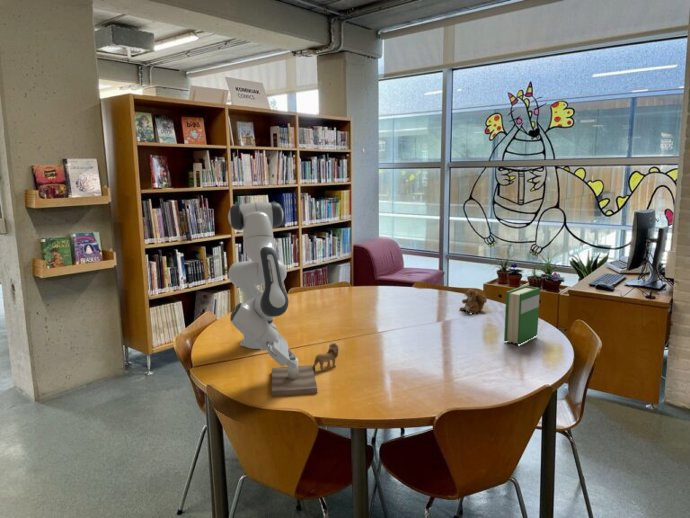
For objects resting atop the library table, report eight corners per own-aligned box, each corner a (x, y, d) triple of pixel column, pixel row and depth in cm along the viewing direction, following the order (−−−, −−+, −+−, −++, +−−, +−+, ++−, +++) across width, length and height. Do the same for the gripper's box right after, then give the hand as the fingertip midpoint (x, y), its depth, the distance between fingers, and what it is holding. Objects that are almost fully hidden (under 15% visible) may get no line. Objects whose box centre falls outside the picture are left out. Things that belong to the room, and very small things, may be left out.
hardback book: (519, 346, 225) (521, 294, 221) (504, 342, 230) (506, 291, 226) (537, 337, 237) (539, 288, 233) (522, 334, 242) (524, 285, 238)
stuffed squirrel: (457, 310, 286) (458, 287, 284) (478, 308, 291) (479, 285, 289) (468, 314, 277) (468, 291, 275) (489, 312, 282) (490, 289, 280)
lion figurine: (331, 361, 209) (331, 340, 208) (341, 364, 206) (341, 343, 205) (308, 372, 198) (308, 350, 196) (319, 375, 194) (318, 353, 193)
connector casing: (287, 375, 190) (287, 355, 188) (298, 374, 190) (297, 354, 189) (288, 379, 186) (287, 359, 184) (298, 378, 186) (298, 358, 185)
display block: (271, 372, 198) (271, 367, 197) (312, 370, 200) (312, 365, 200) (272, 396, 176) (271, 391, 176) (317, 393, 179) (317, 387, 178)
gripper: (273, 341, 174) (302, 366, 177) (272, 324, 194) (298, 347, 197) (260, 354, 174) (289, 379, 177) (261, 336, 194) (287, 358, 197)
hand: (294, 362), depth 187 cm, fingers open, 8 cm apart
